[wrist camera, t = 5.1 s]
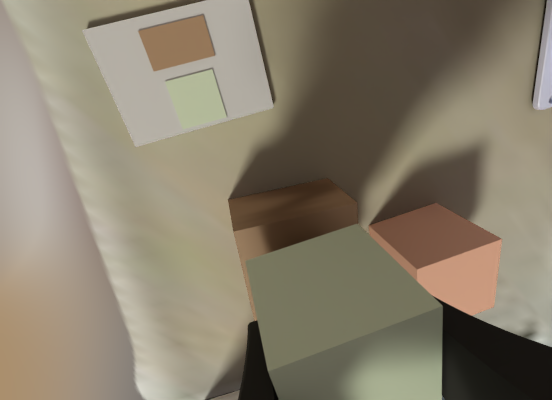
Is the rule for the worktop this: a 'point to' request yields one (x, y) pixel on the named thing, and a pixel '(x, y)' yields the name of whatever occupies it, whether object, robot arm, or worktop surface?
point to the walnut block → (288, 219)
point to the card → (182, 68)
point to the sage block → (346, 322)
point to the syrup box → (228, 396)
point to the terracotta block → (444, 255)
